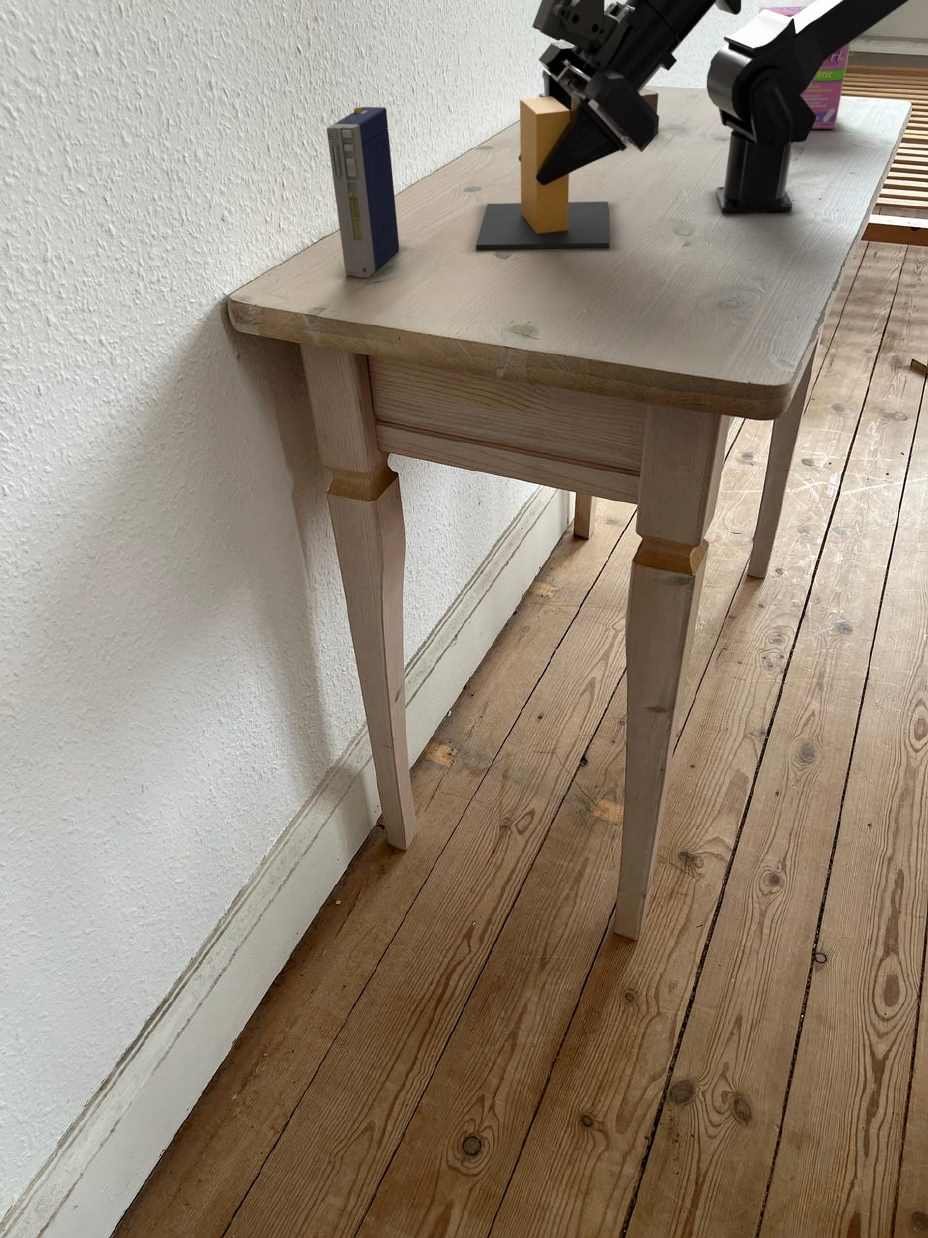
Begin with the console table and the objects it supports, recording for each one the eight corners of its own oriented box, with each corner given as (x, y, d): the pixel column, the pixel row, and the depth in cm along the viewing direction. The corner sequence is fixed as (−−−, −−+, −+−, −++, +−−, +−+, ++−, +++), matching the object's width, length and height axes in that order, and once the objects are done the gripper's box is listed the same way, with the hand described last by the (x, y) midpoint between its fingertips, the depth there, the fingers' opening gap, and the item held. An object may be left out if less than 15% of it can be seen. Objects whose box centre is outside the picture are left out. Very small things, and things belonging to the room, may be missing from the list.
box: (743, 129, 112) (758, 13, 104) (744, 118, 116) (759, 5, 109) (835, 130, 110) (857, 11, 102) (832, 118, 114) (853, 3, 106)
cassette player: (376, 247, 87) (361, 102, 79) (400, 248, 86) (386, 103, 79) (344, 276, 82) (324, 124, 74) (369, 278, 81) (351, 125, 73)
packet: (550, 210, 91) (552, 95, 85) (567, 230, 87) (570, 110, 80) (521, 214, 91) (519, 99, 84) (536, 234, 86) (536, 113, 80)
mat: (609, 247, 84) (609, 242, 84) (476, 249, 85) (476, 244, 85) (607, 205, 93) (607, 201, 93) (487, 207, 94) (487, 203, 94)
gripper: (562, -66, 83) (447, 87, 88) (631, -47, 68) (488, 134, 74) (641, 30, 89) (528, 168, 94) (719, 66, 74) (581, 225, 80)
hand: (530, 171), depth 86 cm, fingers closed on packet, 6 cm apart
